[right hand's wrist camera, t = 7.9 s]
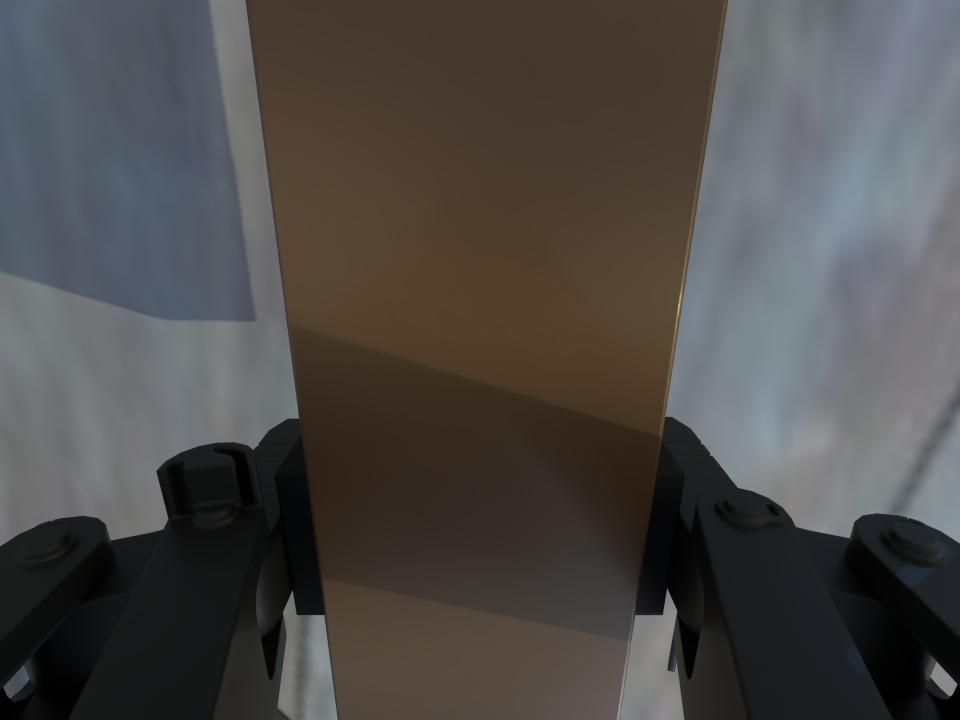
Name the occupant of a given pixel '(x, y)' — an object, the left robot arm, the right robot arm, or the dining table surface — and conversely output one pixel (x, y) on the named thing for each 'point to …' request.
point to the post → (483, 328)
